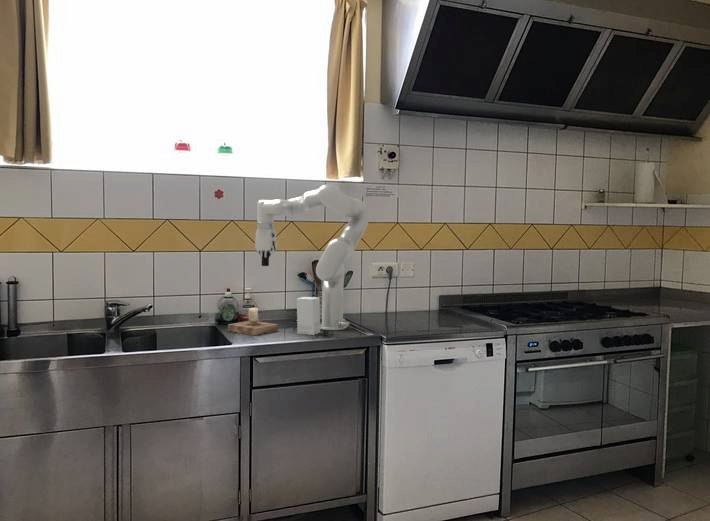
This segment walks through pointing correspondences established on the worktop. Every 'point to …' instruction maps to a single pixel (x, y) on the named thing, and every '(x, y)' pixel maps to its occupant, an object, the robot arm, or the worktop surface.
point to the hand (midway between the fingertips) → (265, 265)
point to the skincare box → (308, 315)
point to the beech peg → (253, 316)
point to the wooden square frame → (252, 328)
